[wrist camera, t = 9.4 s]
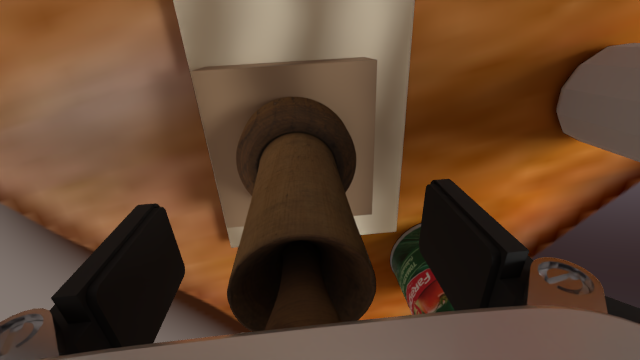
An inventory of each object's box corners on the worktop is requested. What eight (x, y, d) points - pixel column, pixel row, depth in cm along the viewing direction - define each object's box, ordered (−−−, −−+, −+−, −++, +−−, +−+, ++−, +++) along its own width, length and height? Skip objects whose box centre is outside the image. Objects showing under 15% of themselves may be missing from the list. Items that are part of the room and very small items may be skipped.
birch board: (411, -58, 17) (420, -64, 16) (391, 223, 26) (396, 231, 25) (168, -49, 16) (160, -55, 15) (233, 238, 25) (231, 247, 24)
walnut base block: (364, 56, 18) (377, 59, 16) (362, 193, 23) (372, 214, 20) (205, 66, 18) (190, 71, 15) (234, 205, 22) (226, 228, 20)
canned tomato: (379, 238, 27) (431, 356, 17) (462, 206, 26) (568, 310, 16) (401, 294, 30) (456, 418, 20) (475, 267, 29) (569, 383, 19)
